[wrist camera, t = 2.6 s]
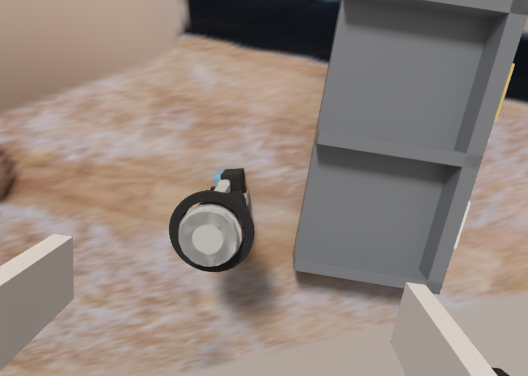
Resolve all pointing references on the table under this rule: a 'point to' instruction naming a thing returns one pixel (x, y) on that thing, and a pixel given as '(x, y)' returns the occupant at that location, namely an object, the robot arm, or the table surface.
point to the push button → (214, 225)
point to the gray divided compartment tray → (403, 135)
